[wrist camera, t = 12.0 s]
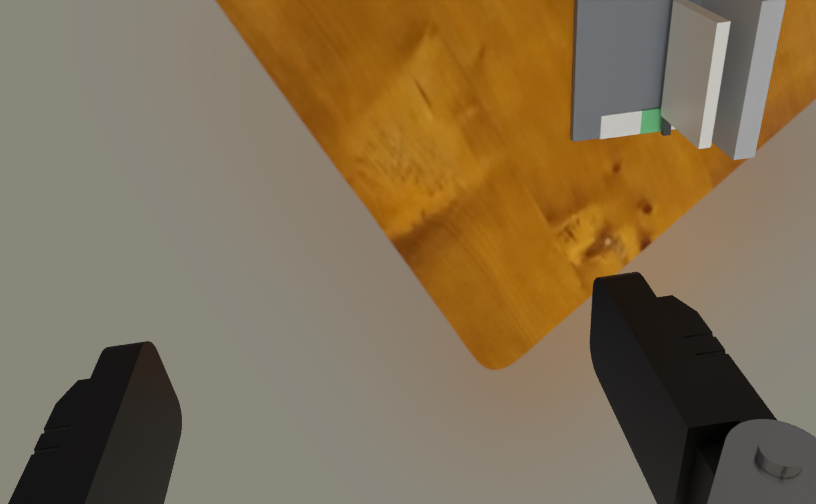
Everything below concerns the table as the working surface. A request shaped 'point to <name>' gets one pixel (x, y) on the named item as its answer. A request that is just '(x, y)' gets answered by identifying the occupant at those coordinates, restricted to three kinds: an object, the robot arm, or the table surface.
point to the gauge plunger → (693, 72)
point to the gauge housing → (646, 63)
